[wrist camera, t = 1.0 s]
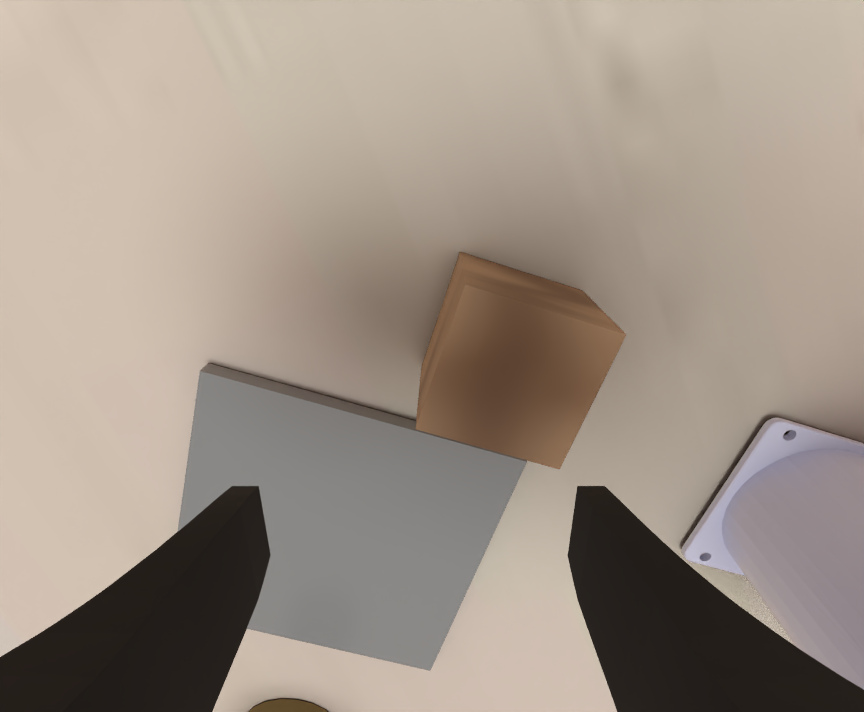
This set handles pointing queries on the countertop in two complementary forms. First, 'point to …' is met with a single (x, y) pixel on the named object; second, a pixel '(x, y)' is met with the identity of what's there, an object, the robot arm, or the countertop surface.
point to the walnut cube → (514, 362)
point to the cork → (287, 706)
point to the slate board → (349, 513)
